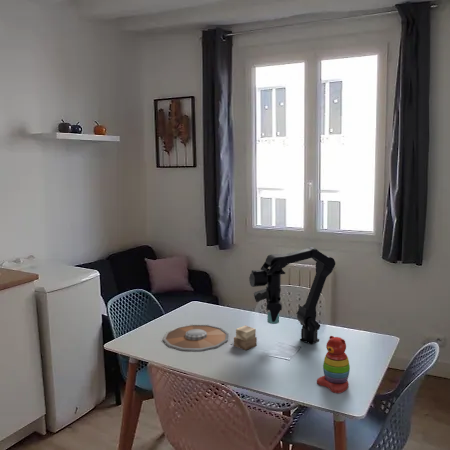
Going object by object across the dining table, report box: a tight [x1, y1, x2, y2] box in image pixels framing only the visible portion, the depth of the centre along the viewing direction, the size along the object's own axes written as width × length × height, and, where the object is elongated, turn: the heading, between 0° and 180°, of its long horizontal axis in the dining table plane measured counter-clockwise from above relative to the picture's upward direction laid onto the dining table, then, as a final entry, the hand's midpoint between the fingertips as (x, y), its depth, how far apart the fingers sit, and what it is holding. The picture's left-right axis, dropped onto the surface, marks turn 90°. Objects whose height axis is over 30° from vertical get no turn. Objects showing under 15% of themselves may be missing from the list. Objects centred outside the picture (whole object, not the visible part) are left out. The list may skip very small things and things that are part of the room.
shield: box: [162, 324, 229, 352], centre depth 217 cm, size 30×3×30 cm
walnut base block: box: [233, 336, 258, 351], centre depth 208 cm, size 7×7×4 cm
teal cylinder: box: [266, 311, 280, 325], centre depth 206 cm, size 5×5×4 cm
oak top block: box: [235, 325, 257, 342], centre depth 207 cm, size 6×6×4 cm
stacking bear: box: [316, 335, 351, 394], centre depth 172 cm, size 11×10×18 cm
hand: (273, 319), depth 206 cm, fingers closed on teal cylinder, 5 cm apart
